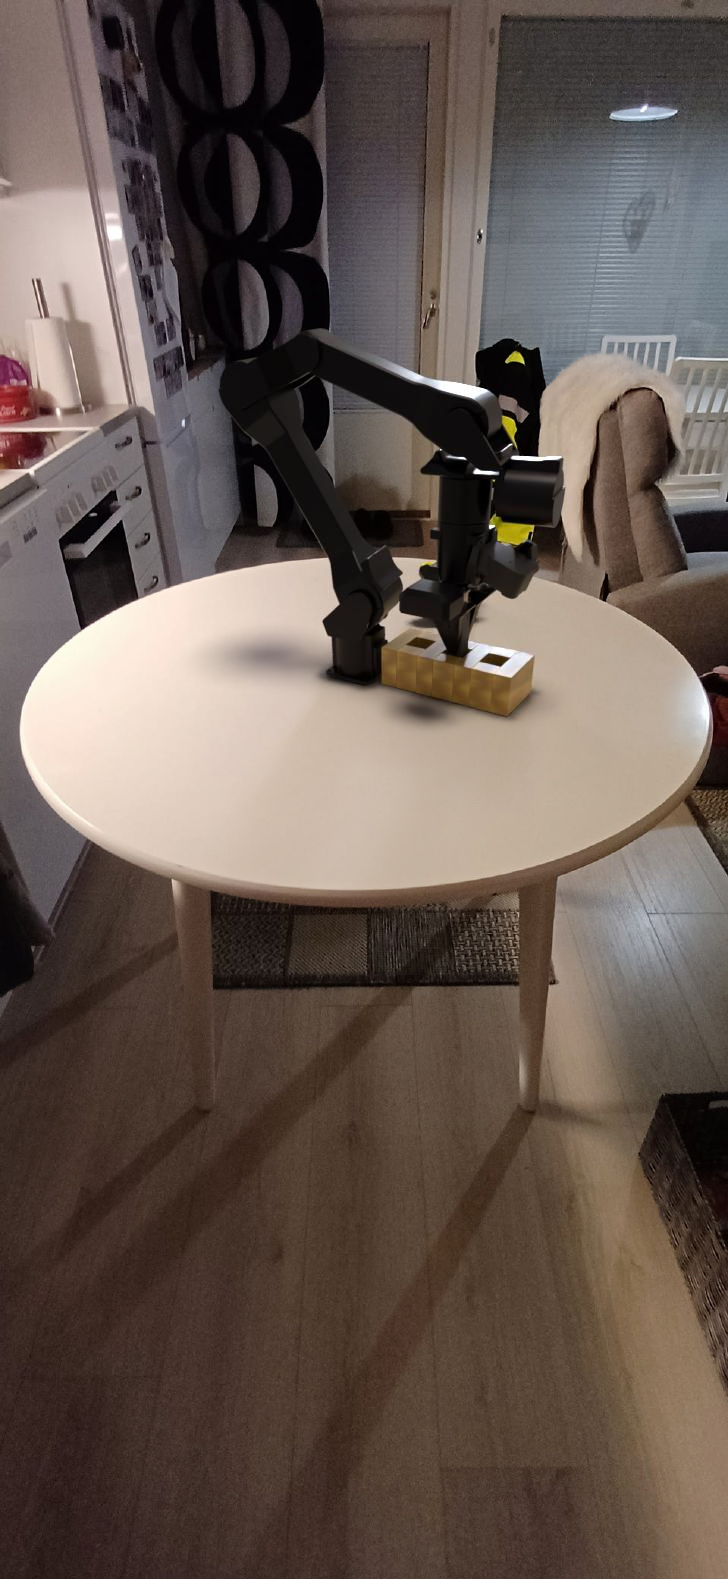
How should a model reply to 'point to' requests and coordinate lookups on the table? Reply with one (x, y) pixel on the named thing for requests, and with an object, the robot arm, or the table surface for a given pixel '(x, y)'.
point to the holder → (458, 672)
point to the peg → (463, 637)
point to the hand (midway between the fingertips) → (456, 649)
